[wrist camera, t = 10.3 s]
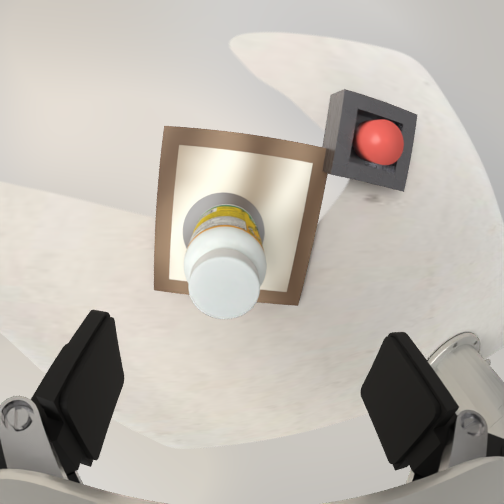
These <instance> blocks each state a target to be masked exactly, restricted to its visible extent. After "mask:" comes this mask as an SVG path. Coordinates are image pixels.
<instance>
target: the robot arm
mask: <svg viewBox="0 0 504 504" xmlns="http://www.w3.org/2000/svg"><path fill="white" fill-rule="evenodd" d="M479 350H480V341H479V339H478V338H477V337H476V335H474V334H473V333H463V334H460V335H458V336H456V337H454V338H452V339H451V340H449V341H447V342H446V343H445V344H444V345H442V346H441V347H440V348H439V349H438V350H437V351H436V352H435V353H434V354H433V355H432V356H431V357H430V359H429V360H428V361H427V360H426V359H425V357H424V356H423V355H422V353H421V352H420V351H419V349H418V348H417V347H416V345H415V344H414V343H413V341H412V340H411V339H410V337H409V336H408V335H407V334H406V333H405V332H392V333H390V334H389V335H388V337H386V338H385V339H384V341H383V343H382V345H381V348H380V350H379V352H378V354H377V356H376V359H375V361H374V363H373V365H372V367H371V369H370V371H369V373H368V375H367V377H366V379H365V381H364V383H363V385H362V388H361V397H362V399H363V402H364V404H365V406H366V409H367V411H368V413H369V416H370V418H371V420H372V422H373V425H374V427H375V430H376V432H377V434H378V437H379V439H380V442H381V444H382V447H383V449H384V451H385V454H386V456H387V459H388V461H389V463H390V464H393V466H394V469H395V470H398V469H402V468H405V467H407V466H408V465H410V467H411V471H410V474H409V476H408V479H407V481H406V484H404V485H401V486H398V487H394V488H391V489H388V490H384V491H380V492H377V493H373V494H369V495H365V496H360V497H356V498H351V499H346V500H341V501H335V502H329V503H323V504H504V382H503V381H502V380H501V378H500V377H499V376H498V375H497V374H496V373H495V371H494V370H493V369H492V368H491V367H490V360H489V359H486V360H484V359H483V357H482V356H481V355H480V354H479ZM123 383H124V372H123V368H122V362H121V357H120V352H119V346H118V340H117V334H116V327H115V321H114V318H112V317H110V315H109V313H108V312H103V311H97V310H91V311H90V313H89V314H88V315H87V317H86V318H85V320H84V321H83V323H82V324H81V325H80V327H79V328H78V330H77V331H76V333H75V334H74V336H73V337H72V339H71V340H70V342H69V343H68V344H66V345H65V346H64V347H63V348H62V350H61V351H60V353H59V355H58V356H57V358H56V359H55V361H54V362H53V364H52V365H51V367H50V369H49V370H48V372H47V373H46V375H45V377H44V378H43V380H42V382H41V383H40V385H39V387H38V388H37V390H36V392H35V393H34V395H33V397H32V398H31V400H30V399H28V398H26V397H22V396H13V397H11V398H8V399H6V400H5V401H4V402H2V403H1V405H0V504H166V503H160V502H154V501H149V500H144V499H138V498H134V497H129V496H124V495H120V494H116V493H112V492H108V491H104V490H101V489H97V488H94V487H90V486H87V485H84V484H83V482H82V480H81V479H80V477H79V475H78V473H77V471H76V470H78V468H79V465H80V463H81V464H84V465H87V466H90V467H91V465H92V462H93V460H97V459H98V458H99V455H100V452H101V449H102V445H103V442H104V439H105V436H106V433H107V429H108V427H109V423H110V420H111V418H112V415H113V412H114V409H115V406H116V403H117V400H118V398H119V395H120V392H121V389H122V387H123Z"/></svg>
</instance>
